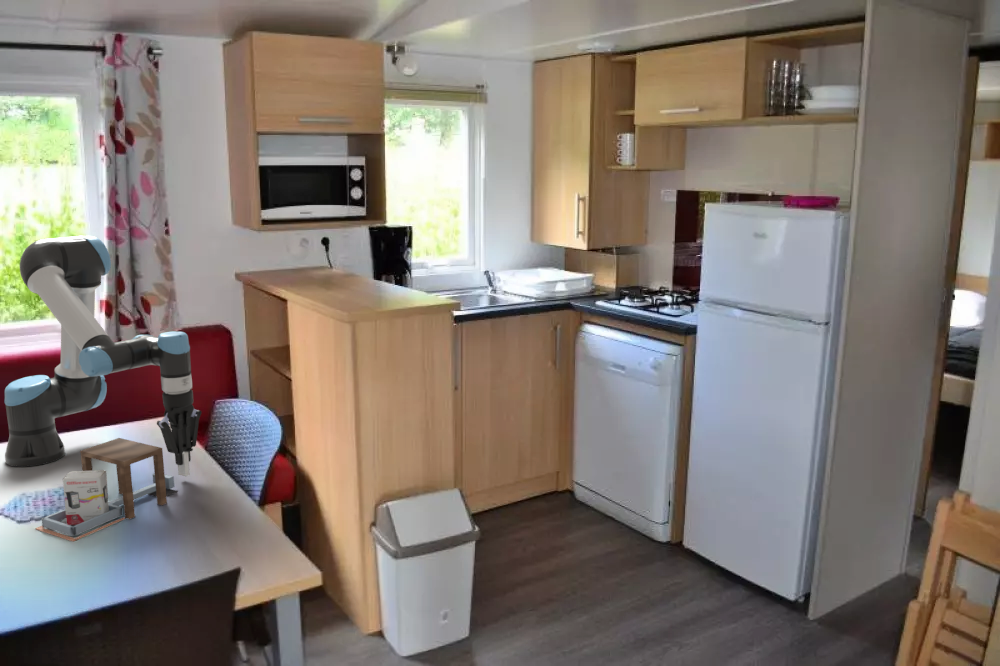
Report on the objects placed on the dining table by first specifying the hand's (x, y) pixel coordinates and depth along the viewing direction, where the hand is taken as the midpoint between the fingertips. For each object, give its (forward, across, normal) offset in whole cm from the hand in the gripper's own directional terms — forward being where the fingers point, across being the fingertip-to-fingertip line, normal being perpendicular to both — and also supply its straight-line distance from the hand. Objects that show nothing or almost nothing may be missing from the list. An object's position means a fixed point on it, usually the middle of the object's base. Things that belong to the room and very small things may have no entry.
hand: (184, 474), depth 221 cm
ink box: (+2, -28, 0) cm, 29 cm away
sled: (+1, -21, 0) cm, 21 cm away
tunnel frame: (+2, -18, 0) cm, 18 cm away
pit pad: (+2, -9, 0) cm, 9 cm away
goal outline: (+2, -31, 0) cm, 31 cm away
